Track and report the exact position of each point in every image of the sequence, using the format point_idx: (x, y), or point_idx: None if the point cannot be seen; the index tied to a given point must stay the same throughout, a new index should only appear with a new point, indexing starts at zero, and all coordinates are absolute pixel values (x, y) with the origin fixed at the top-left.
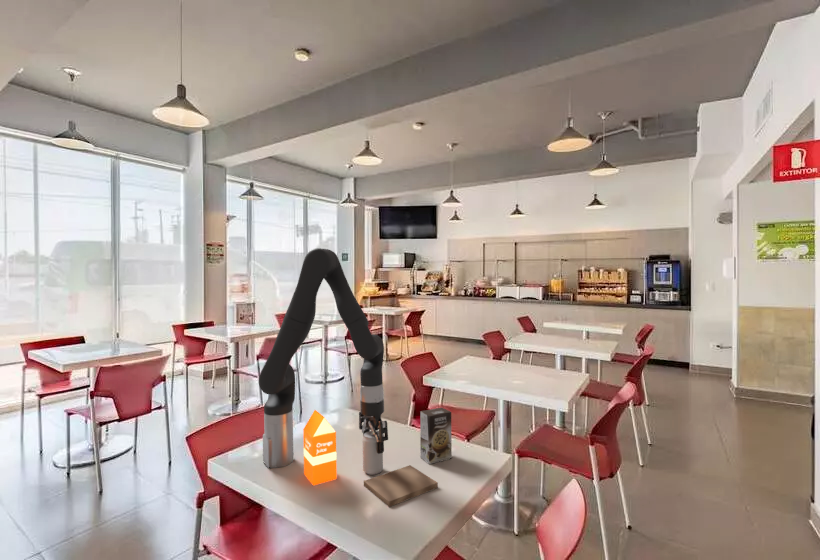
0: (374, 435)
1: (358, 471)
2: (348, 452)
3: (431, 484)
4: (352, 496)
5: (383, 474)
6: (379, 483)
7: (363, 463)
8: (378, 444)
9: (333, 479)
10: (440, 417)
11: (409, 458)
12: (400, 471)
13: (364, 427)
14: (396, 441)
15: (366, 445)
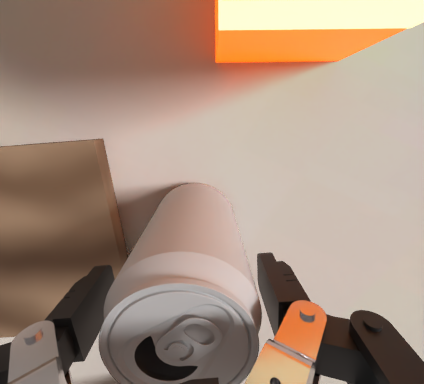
0: (55, 358)
1: (224, 170)
2: (400, 202)
3: None
4: (42, 63)
5: (112, 228)
6: (47, 185)
7: (198, 192)
8: (67, 310)
9: (215, 45)
10: None
11: None
12: None
13: (252, 368)
14: None
15: (147, 243)
